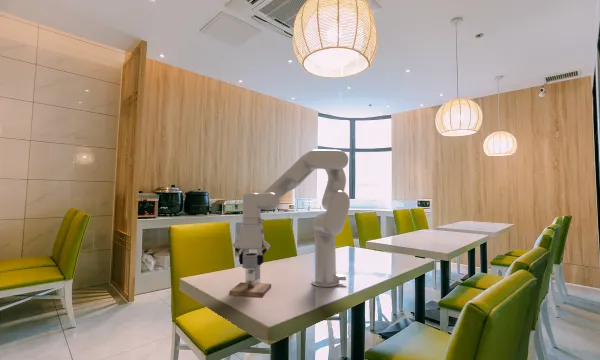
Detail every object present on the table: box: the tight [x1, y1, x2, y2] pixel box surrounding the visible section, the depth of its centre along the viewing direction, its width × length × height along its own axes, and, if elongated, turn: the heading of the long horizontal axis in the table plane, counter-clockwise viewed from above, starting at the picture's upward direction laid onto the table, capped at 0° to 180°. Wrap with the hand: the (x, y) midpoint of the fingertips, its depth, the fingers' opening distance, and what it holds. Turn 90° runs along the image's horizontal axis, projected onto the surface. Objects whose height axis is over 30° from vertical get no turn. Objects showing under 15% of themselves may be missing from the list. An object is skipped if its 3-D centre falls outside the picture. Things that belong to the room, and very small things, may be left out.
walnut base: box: [228, 281, 272, 297], centre depth 117 cm, size 14×12×2 cm
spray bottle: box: [244, 249, 261, 283], centre depth 129 cm, size 7×7×18 cm
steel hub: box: [241, 252, 261, 269], centre depth 118 cm, size 7×7×5 cm
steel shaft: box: [248, 269, 255, 288], centre depth 117 cm, size 3×3×7 cm
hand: (251, 263), depth 118 cm, fingers closed on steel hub, 7 cm apart
